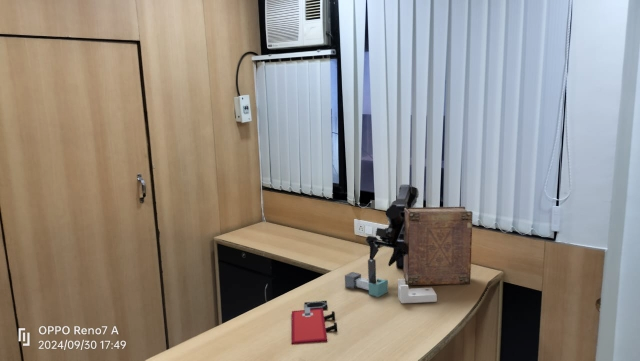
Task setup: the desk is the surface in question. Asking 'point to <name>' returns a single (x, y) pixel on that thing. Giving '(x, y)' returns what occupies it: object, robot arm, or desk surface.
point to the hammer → (371, 276)
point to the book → (437, 245)
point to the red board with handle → (311, 323)
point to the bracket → (415, 294)
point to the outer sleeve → (351, 280)
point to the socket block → (378, 288)
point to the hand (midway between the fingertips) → (379, 263)
